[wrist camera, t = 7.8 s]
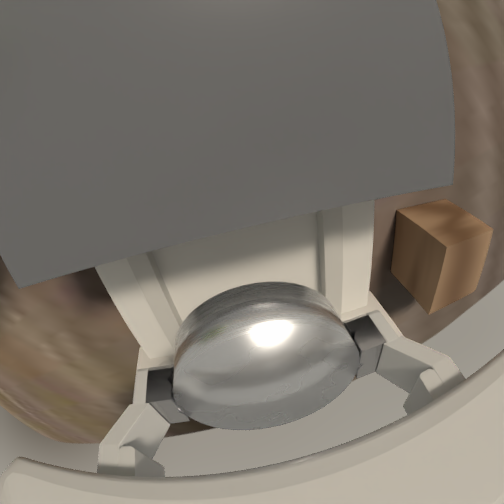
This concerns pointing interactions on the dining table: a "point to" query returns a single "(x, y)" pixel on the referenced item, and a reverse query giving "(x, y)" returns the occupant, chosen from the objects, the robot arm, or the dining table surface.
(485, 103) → the dining table surface
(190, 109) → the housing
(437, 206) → the wooden block
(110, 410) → the dining table surface
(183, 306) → the cream drawer
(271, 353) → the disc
